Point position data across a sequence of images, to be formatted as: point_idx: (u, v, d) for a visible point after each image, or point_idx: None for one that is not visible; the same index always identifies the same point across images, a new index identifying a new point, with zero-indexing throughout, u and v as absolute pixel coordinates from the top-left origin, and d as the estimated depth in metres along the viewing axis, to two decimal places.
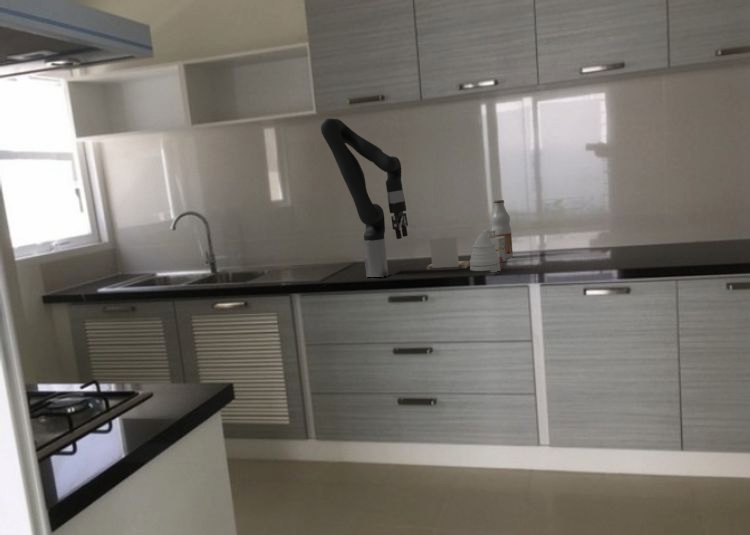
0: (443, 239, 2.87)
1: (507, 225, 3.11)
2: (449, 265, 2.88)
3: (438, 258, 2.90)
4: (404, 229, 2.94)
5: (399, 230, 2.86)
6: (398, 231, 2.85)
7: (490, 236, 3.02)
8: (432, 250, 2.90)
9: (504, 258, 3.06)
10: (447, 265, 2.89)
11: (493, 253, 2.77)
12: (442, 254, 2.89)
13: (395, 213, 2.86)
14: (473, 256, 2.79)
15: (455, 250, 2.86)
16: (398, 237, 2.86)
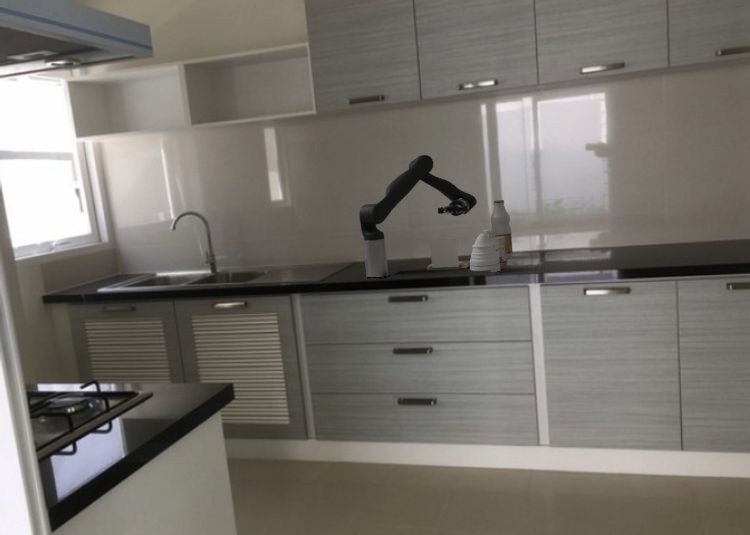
0: (443, 239, 2.87)
1: (507, 225, 3.11)
2: (449, 265, 2.88)
3: (438, 258, 2.90)
4: (443, 211, 3.03)
5: (460, 211, 3.01)
6: (461, 210, 3.00)
7: (490, 236, 3.02)
8: (432, 250, 2.90)
9: (504, 258, 3.06)
10: (447, 265, 2.89)
11: (493, 253, 2.77)
12: (442, 254, 2.89)
13: None
14: (473, 256, 2.79)
15: (455, 250, 2.86)
16: (459, 210, 2.98)
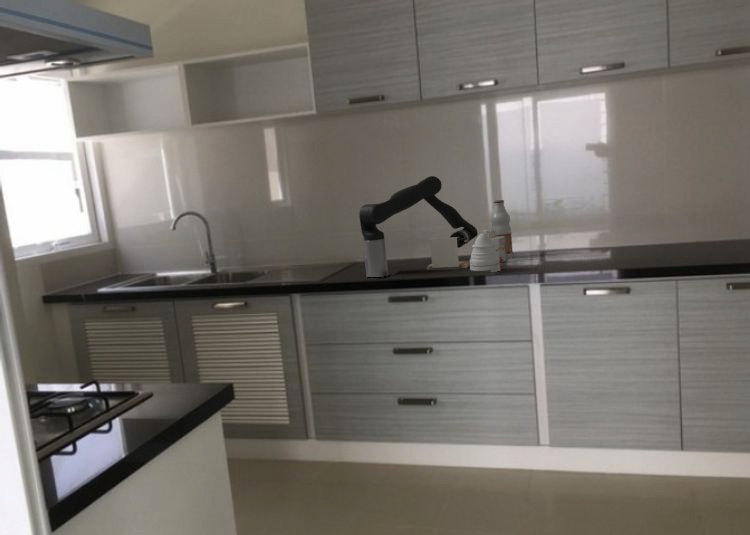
0: (443, 239, 2.87)
1: (507, 225, 3.11)
2: (449, 265, 2.88)
3: (438, 258, 2.90)
4: None
5: None
6: None
7: (490, 236, 3.02)
8: (432, 250, 2.90)
9: (504, 258, 3.06)
10: (447, 265, 2.89)
11: (493, 253, 2.77)
12: (442, 254, 2.89)
13: None
14: (473, 256, 2.79)
15: (455, 250, 2.86)
16: None
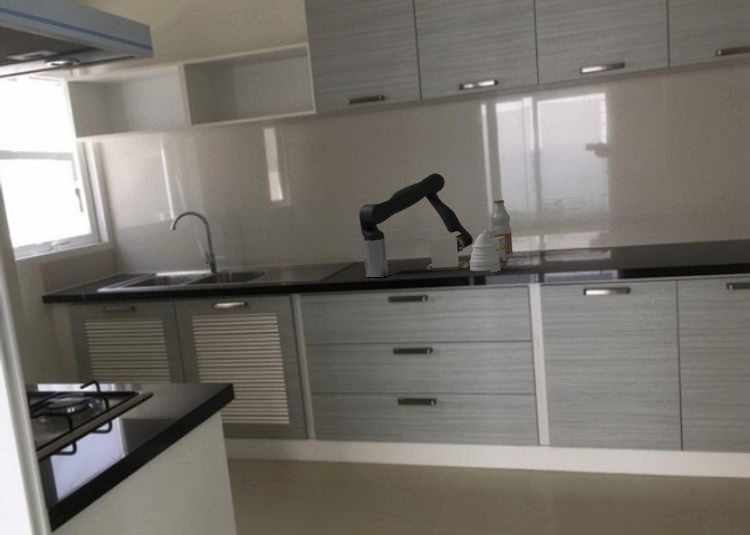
0: (443, 239, 2.87)
1: (507, 225, 3.11)
2: (449, 265, 2.88)
3: (438, 258, 2.90)
4: None
5: None
6: None
7: (490, 236, 3.02)
8: (432, 250, 2.90)
9: (504, 258, 3.06)
10: (447, 265, 2.89)
11: (493, 253, 2.77)
12: (442, 254, 2.89)
13: None
14: (473, 256, 2.79)
15: (455, 250, 2.86)
16: None
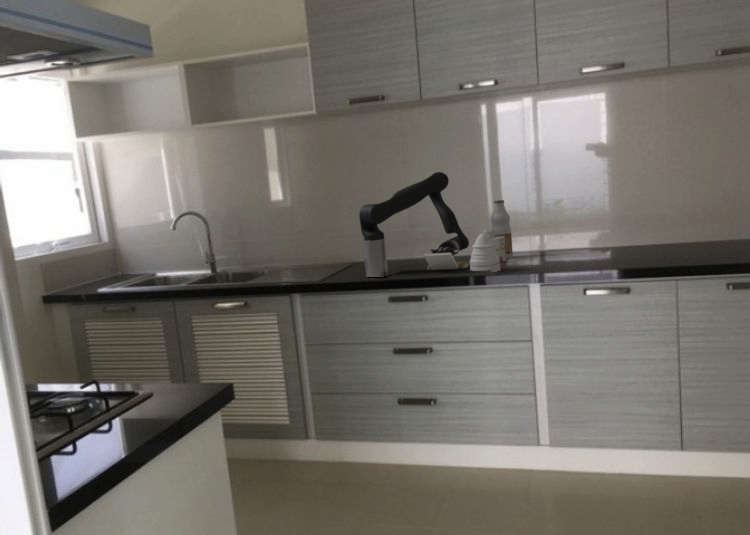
0: (438, 255, 2.79)
1: (507, 225, 3.11)
2: (449, 268, 2.87)
3: (436, 265, 2.86)
4: None
5: None
6: None
7: (490, 236, 3.02)
8: (428, 261, 2.84)
9: (504, 258, 3.06)
10: (447, 268, 2.88)
11: (493, 253, 2.77)
12: (440, 263, 2.84)
13: None
14: (473, 256, 2.79)
15: (452, 261, 2.81)
16: None
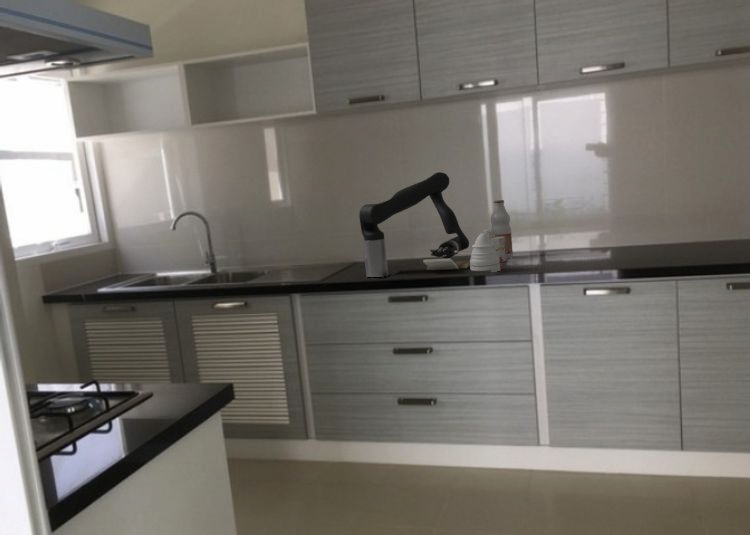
0: (437, 261, 2.78)
1: (507, 225, 3.11)
2: (449, 269, 2.87)
3: (436, 267, 2.86)
4: None
5: (442, 255, 2.83)
6: (443, 254, 2.83)
7: (490, 236, 3.02)
8: (428, 265, 2.84)
9: (504, 258, 3.06)
10: (447, 269, 2.88)
11: (493, 253, 2.77)
12: (439, 266, 2.84)
13: None
14: (473, 256, 2.79)
15: (452, 264, 2.80)
16: (441, 254, 2.80)
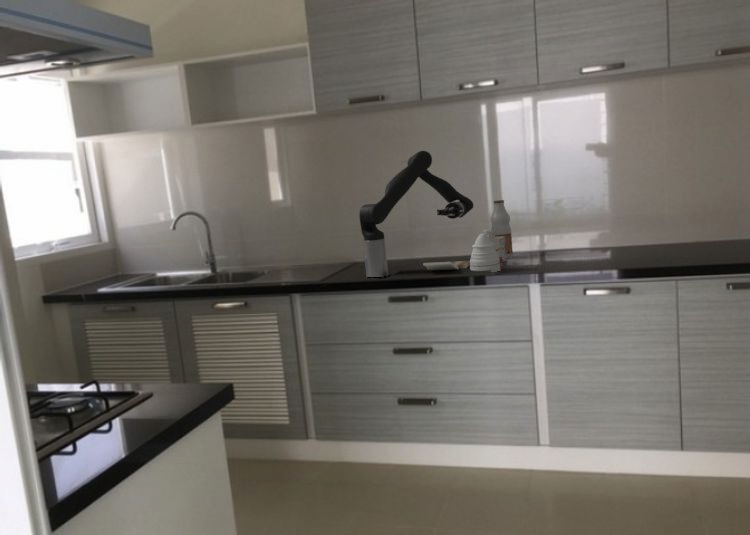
0: (437, 264, 2.77)
1: (507, 225, 3.11)
2: (449, 269, 2.87)
3: (436, 268, 2.86)
4: None
5: (448, 214, 2.96)
6: (449, 213, 2.95)
7: (490, 236, 3.02)
8: (428, 267, 2.84)
9: (504, 258, 3.06)
10: (447, 269, 2.88)
11: (493, 253, 2.77)
12: (439, 267, 2.84)
13: None
14: (473, 256, 2.79)
15: (452, 266, 2.80)
16: (447, 212, 2.93)
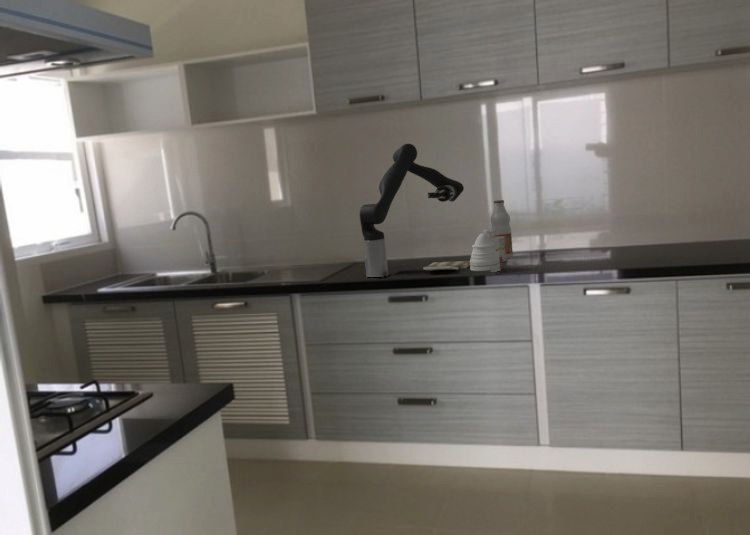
0: (437, 268, 2.77)
1: (507, 225, 3.11)
2: None
3: None
4: None
5: (439, 196, 3.00)
6: (440, 196, 3.00)
7: (490, 236, 3.02)
8: None
9: (504, 258, 3.06)
10: None
11: (493, 253, 2.77)
12: (439, 269, 2.84)
13: None
14: (473, 256, 2.79)
15: (452, 268, 2.80)
16: (438, 195, 2.97)
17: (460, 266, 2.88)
